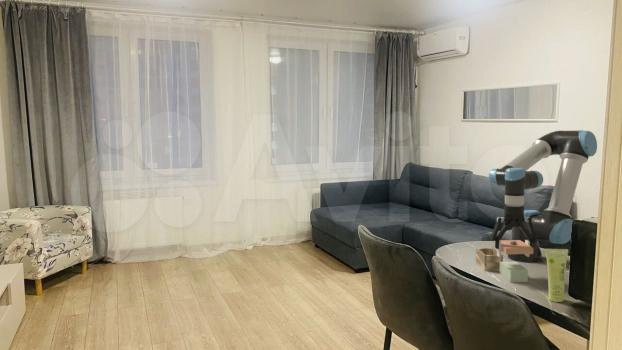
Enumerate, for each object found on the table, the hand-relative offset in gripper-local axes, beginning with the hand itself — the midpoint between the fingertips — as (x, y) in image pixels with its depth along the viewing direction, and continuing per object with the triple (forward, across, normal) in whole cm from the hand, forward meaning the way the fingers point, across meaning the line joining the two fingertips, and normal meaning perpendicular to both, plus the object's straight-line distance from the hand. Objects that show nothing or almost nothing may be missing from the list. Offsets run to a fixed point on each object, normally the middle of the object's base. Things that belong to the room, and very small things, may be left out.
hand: (513, 256), depth 193 cm
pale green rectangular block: (+9, 0, 0) cm, 9 cm away
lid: (-3, 0, 0) cm, 3 cm away
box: (+9, +5, -15) cm, 18 cm away
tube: (+10, -6, +25) cm, 27 cm away
